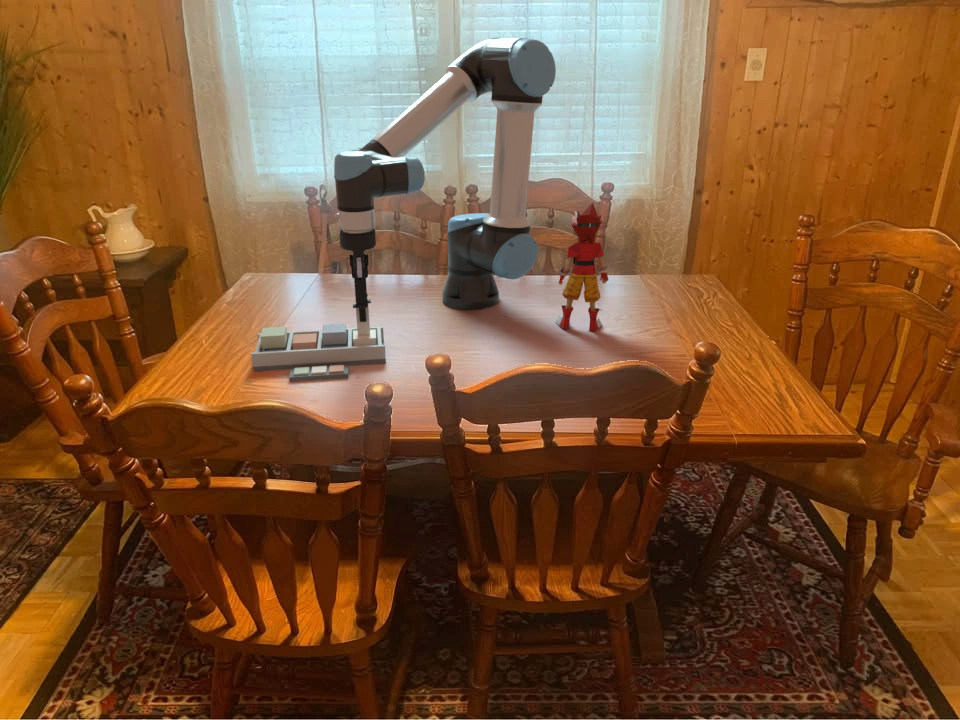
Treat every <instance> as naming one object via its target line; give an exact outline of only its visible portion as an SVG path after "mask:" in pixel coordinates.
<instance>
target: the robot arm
mask: <svg viewBox="0 0 960 720" xmlns="http://www.w3.org/2000/svg"><path fill="white" fill-rule="evenodd" d="M556 71H557V70H556V61H555V57H554V55H553V53H552V52H551V51H550V49H549V47H548V46H547V45H546V44H545V43H544V42H542V41H540V40H538V39H533V38H528V37H516V38H515V37H491V38H488V39H485V40H482V41H480V42H479V43H476V44H475V45H473V46H472V47H470V48H469V49H468V50H466V51H465V52H464V53H463V54H461V55H460V56H459V57H458V58H457V59H455V60H453V62H451V64H449V65H448V66H447V67H446V69H445V75H444V76H442V78H440V79H439V80H438V81H437V82H436V83H434V84H433V86H432V87H430V88H429V89H428V90H427V91H426V92H424V93H423V94H422V95H421V96H420V97H419V98H418V99H417V100H415V101H414V102H413V103H412V104H411V105H409V107H407V108H406V109H405V110H404V111H403V112H402V113H401V114H399V115H398V116H397V117H396V118H395V119H394V120H393V121H392V122H390V123H389V124H388V125H387V126H386V127H385V128H383V129H382V130H381V131H380V132H378V134H377V135H375V137H373V138H372V139H371V140H369V141H368V142H367V143H366V144H365V145H364V146H363V147H357V148H351V149H349V150H347V151H341V152H339V153H337V154H336V155H335V156H334V164H333V166H334V168H333V169H334V172H333V173H334V175H333V179H334V181H335V193H336V194H335V195H336V204H337V206H336V207H337V213H335V214H334V217H335V218H336V219H338V221H337V222H338V228H339V229H340V230H339V232H338V236H339V246H340V248H341V249H342V250H343V251H351V252H352V254H351V253H350V254H349V266H350V269H351V277H352V279H353V282H354V293H355V295H354V296H355V303H354V304H352V309H355V316H356V328H357V332H358V335H366V334H370V327H371V326H370V311H369V304H372V302H371V299H368V292H367V291H368V290H367V288H368V287H367V278H368V277H369V269H368V266H369V253H365V251H367V250H368V251H369V250H372V249H375V247H376V245H377V237H376V230H375V227H376V214H375V213H376V212H375V199H377V198H382V197H384V198H385V197H390V196H398V195H409V194H412V193H416V192H418V191H420V190H422V188H423V187H424V184H425V181H426V178H425V176H426V175H425V173H426V172H425V168H424V165H423V163H422V161H421V160H420V159H419V158H418V157H415V156H407V155H408V154H409V153H411V151H412V150H414V148H416V147H417V146H418V145H420V144H421V143H422V142H423V141H424V140H425V139H426V138H427V137H428V136H430V135H431V133H432V132H433V131H435V130H436V129H437V128H438V127H439V126H441V125H442V124H443V123H444V122H445V121H447V119H448V118H450V117H451V116H452V115H453V114H454V113H455V112H457V110H458V109H461V107H462V106H463V105H464V104H466V102H467V103H473V102H474V101H475V100H477V99H478V98H479V97H480V96H482V95H484V94H487V93H491V99H490V100H491V103H492V104H493V106H494V107H495V108H496V110H497V111H496V124H495V138H494V151H493V162H492V163H493V166H492V167H493V168H492V178H491V191H490V192H491V194H490V205H489V206H490V207H489V213H487V212H486V213H484V212H481V213H480V212H479V213H478V212H475V213H466V214H459V215H455V216H453V217H451V218H449V220H448V223H447V232H446V234H447V251H448V252H447V255H448V259H447V260H448V274H447V277H446V280H445V283H444V286H443V289H442V302H443V304H444V305H446V306H448V307H449V308H453V309H458V310H467V311H468V310H469V311H470V310H471V311H473V310H475V311H477V310H483V309H488V308H491V307H494V306H496V305H497V304H498V303H499V302H500V292H499V289H498V286H497V283H496V279H495V277H494V275H495V276H496V277H498V278H501V279H505V280H506V279H508V280H510V281H511V280H518V279H521V278H523V277H524V276H526V275H527V274H528V273H529V271H530V270H532V269H533V267H534V265H536V264H535V263H536V262H537V259H538V254H539V246H538V242H537V241H536V239H535V238H534V237H533V236H532V235H531V225H532V224H531V221H530V220H529V219H528V218H527V216H526V213H527V212H526V211H527V199H528V190H529V189H528V188H529V187H528V186H529V179H530V177H529V176H530V166H531V157H532V144H533V135H534V134H533V132H534V123H535V113H536V111H537V110H538V109H539V108H540V107H541V106H542V105H543V96H544V95H547V93H549V91H550V88H551V87H553V85H554V82H555V80H556V73H557V72H556Z"/></svg>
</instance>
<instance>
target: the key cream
mask: <svg viewBox="0 0 960 720" xmlns="http://www.w3.org/2000/svg"><path fill="white" fill-rule="evenodd" d="M353 345H354V346H371V345H376V329H375V330H370V334H366V335H358V332H357V331H353Z"/></svg>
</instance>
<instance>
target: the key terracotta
mask: <svg viewBox="0 0 960 720" xmlns="http://www.w3.org/2000/svg"><path fill="white" fill-rule="evenodd" d="M292 345H293V350H303V349H317V346H318V339H317V333H313V334H295V335H294V337H293V342H292Z"/></svg>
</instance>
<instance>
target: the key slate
mask: <svg viewBox="0 0 960 720" xmlns="http://www.w3.org/2000/svg"><path fill="white" fill-rule="evenodd" d="M346 328H347V324H346V323H345V322H344V323H334V324H333V323H330V324H329V323H327V324H322V329H321V330H322V338H323V345H333V344H346V342H347V333H346Z"/></svg>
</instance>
